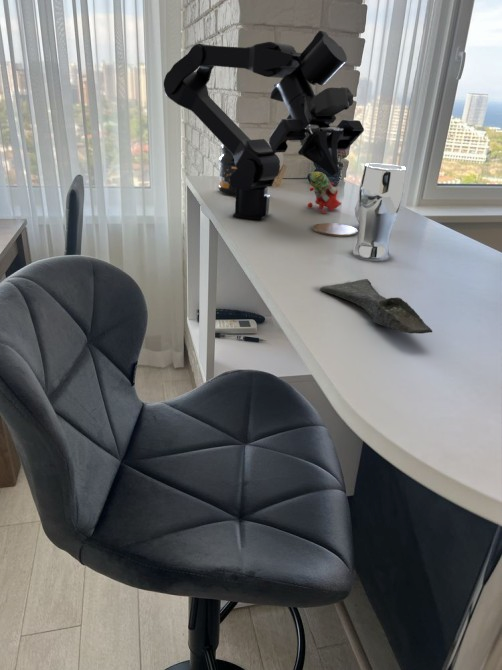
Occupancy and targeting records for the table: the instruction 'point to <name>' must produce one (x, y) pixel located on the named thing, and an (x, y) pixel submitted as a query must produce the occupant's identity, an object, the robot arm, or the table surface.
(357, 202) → the white sphere
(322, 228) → the coaster
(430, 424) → the table surface
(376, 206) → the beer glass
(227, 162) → the supplement container
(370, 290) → the tool
